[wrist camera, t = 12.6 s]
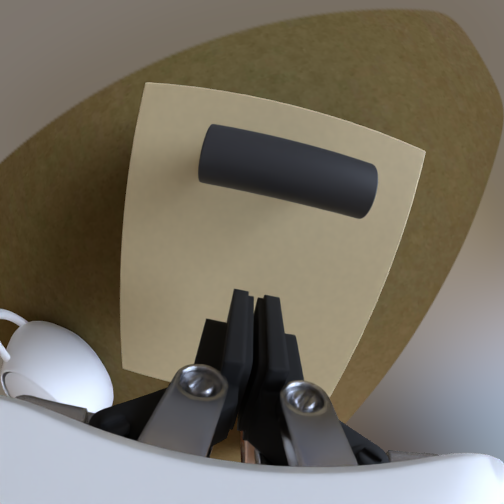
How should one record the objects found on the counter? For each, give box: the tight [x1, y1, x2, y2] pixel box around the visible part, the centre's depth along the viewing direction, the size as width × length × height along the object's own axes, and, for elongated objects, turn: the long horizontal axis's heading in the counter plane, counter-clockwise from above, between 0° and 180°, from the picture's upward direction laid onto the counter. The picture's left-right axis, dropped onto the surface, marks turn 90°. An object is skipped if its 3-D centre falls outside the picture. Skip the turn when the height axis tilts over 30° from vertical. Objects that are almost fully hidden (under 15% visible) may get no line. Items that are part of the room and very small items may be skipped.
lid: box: [120, 82, 425, 397], centre depth 12 cm, size 15×13×5 cm
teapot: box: [0, 309, 114, 413], centre depth 23 cm, size 22×14×11 cm, turn 25°
